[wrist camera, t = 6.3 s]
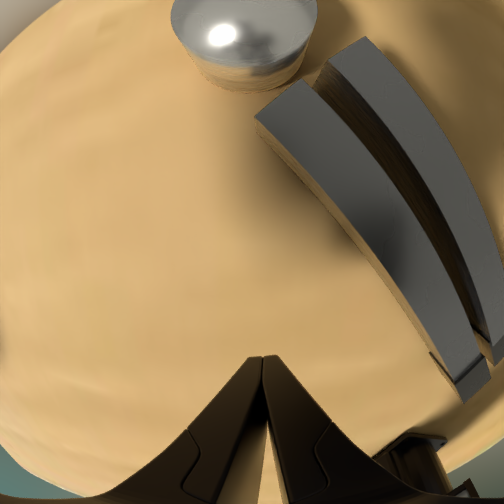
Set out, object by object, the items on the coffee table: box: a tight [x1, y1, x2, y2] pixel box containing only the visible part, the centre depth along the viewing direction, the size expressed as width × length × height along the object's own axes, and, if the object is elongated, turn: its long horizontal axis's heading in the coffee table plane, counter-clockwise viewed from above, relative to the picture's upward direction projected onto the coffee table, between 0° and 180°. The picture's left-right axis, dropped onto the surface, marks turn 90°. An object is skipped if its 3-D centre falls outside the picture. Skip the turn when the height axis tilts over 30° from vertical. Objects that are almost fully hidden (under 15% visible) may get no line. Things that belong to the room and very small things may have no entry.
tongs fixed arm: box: [312, 36, 504, 367], centre depth 9 cm, size 16×2×3 cm, turn 42°
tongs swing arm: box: [171, 0, 491, 404], centre depth 8 cm, size 21×5×3 cm, turn 43°
